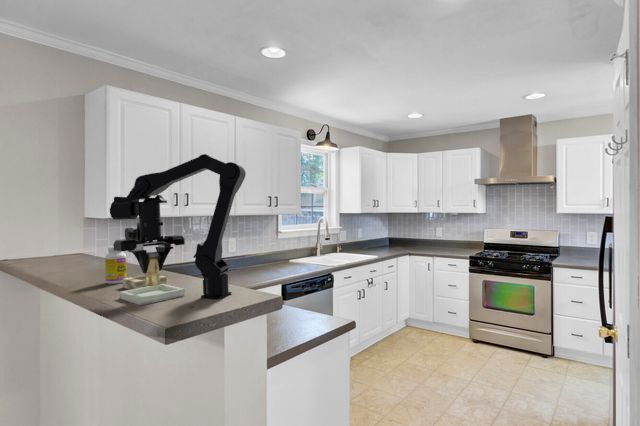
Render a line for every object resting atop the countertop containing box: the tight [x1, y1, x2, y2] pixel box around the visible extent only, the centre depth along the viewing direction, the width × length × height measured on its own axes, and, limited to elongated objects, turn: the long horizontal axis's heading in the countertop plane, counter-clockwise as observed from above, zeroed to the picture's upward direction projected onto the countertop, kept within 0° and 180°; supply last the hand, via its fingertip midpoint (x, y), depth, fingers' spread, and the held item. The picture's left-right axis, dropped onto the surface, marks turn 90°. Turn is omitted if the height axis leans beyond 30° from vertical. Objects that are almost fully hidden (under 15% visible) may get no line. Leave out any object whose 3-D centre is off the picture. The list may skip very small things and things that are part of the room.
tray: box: [119, 284, 186, 306], centre depth 111 cm, size 13×13×2 cm
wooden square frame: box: [122, 274, 168, 290], centre depth 126 cm, size 10×10×3 cm
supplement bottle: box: [104, 245, 128, 285], centre depth 134 cm, size 7×7×13 cm
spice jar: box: [144, 251, 160, 286], centre depth 110 cm, size 5×5×10 cm
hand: (152, 272), depth 110 cm, fingers closed on spice jar, 4 cm apart
